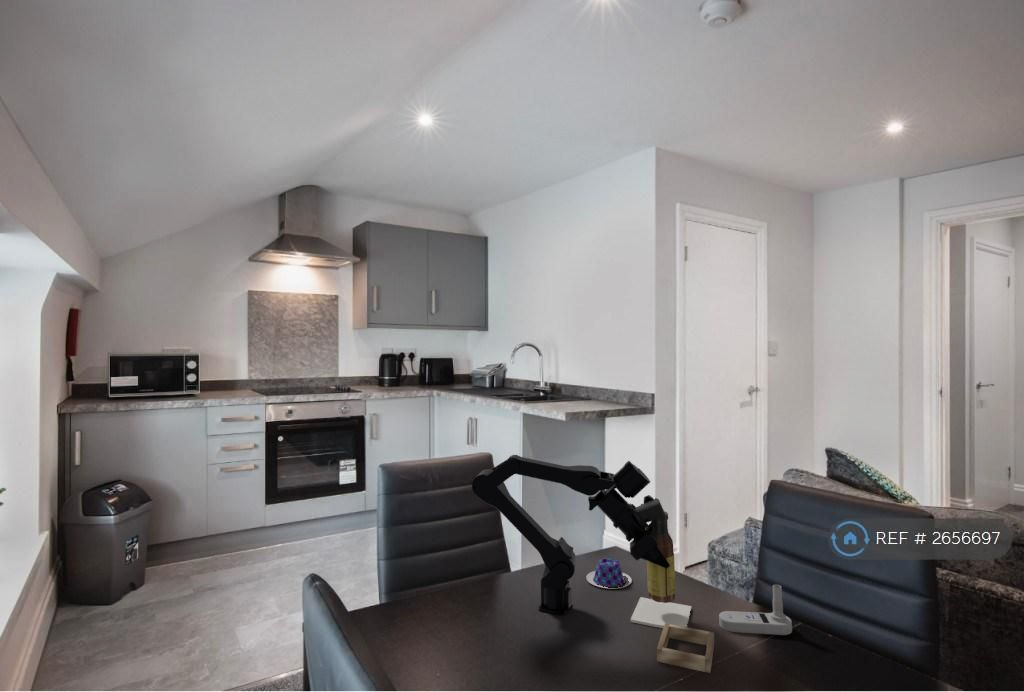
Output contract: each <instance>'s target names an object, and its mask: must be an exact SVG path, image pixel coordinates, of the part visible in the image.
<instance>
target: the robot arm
mask: <svg viewBox="0 0 1024 692" xmlns="http://www.w3.org/2000/svg"><path fill="white" fill-rule="evenodd" d="M514 475H519V476H523V477H529V478H531V479H538V480H541V481H546V482H552V483H556V484H561V485H563V486H565V487H567V488H569V489H571V490H573V491H575V492H578V493H579V494H583V495H585V496H588V497H587V498H588V504H589V505H588V510H589V512H591V511H593V510H594V509H595V508H596V507H598V508H599V509H600V511H601V512H602V513H604V515H605V516H606V517H607V518H608V519H609V520H610V521H611V522H612V523H613V524H612V526H613V527H614V528H615V529H618V530H620V532H621V533H622V534H623V535H624V536H625V539H626V541H627V542H629V554H630V555H631V556H632V557H633V558H634V560H635V561H639V560H640V559H642V560H646V562H647V561H650V562H652V563H655V564H657V565H659V566H662V567H664V568H668V567H669V566H670V564H669V563H668V561H667V560H666V558H665V557H664V555H663V554H662V553H661V551H660V550H659V548H658V547H657V543H658V540H657V536H656V537H655V536H654V534H653V533H652V532H651V521H653V520H655V519H658V518H663V517H664V516H665V512H666V511H665V509H664V508H663V506H662V503H661V501H660V500H659V498H657V497H655V498H654V497H653V496H651V495H649V494H648V495H645V496H644V497H643V503H640V505H639V506H635V505H634V504H633V503H631V502H630V503H629V502H628V501H627V500H626V499H627V498H628V499H629V498H631V499H634V498H635V497H636V496H637V495H638V494H639V493H640V492H641V491H642V490H643V489H645V488H646V487H647V486H648V485H649V484H650V483H651V480H650V479H649V478H648V476H647V475H646V474H645V473H644V472H643V471H642V470H641V468H638V466H637V465H636V464H634V463H632V462H631V461H630V460H628V461H626V463H625V464H624V465H623V466H622V467H621V468H620V469H619V470H618V471H617V472H616V473H611V472H606V471H601V470H599V468H597V467H595V466H593V465H583V464H582V465H581V464H580V465H561V464H558V463H553V462H548V461H541V460H538V459H535V458H534V459H532V458H528V457H524V456H523V457H522V456H520V455H518V454H512V455H510V456H509V457H508V458H507V459H506V460H505V459H504V461H502V462H501V463H499V464H497V465H495V466H494V467H493V468H486V469H483V470H482V471H480V472H479V473H478V474H477V475H476V476H475V477H474V479H473V480H472V483H471V490H472V493H473V494H474V495H475V497H477V498H478V499H479V500H481V501H483V503H485V504H486V505H489V506H491V507H493V508H495V509H496V510H498V511H499V512H500V513H501V514H502V515H503V516H504V517H505V518H506V519H507V520H508V521H509V522H510V523H511V525H512V526H513V527H514V528H515V529H516V530H517V531H518V532H519V533H520V534H521V535H522V536H523V537H524V538H525V539H526V540H527V541H528V542H529V544H531V545H532V547H534V548H535V550H537V552H538V554H540V557H541V558H542V561H543V563H544V568H543V572H542V575H541V578H540V604H539V606H538V611H543V612H546V613H551V614H557V615H562V616H564V615H565V614H567V611H568V610H569V609H570V608H571V606H572V605H573V604H572V600H573V599H572V598H573V597H572V596H573V595H572V593H573V592H572V587H570V579H572V577H573V576H574V575H575V571H576V565H577V556H576V554H575V552H574V547H573V546H571V545H570V544H568V542H567V541H566V539H565V538H564V537H563V536H560V537H559V539H558V540H557V539H555V538H553V537H551V536H550V535H549V534H548V532H546V530H545V529H544V528H542V527H541V525H540V524H539V523H538V522H537V521H536V520H535V519H534V518H533V517H532V516H531V515H530V514H529V513H528V512H527V510H525V509H524V507H522V505H520V503H518V501H517V500H515V499H514V498H513V496H512V495H511V494H510V492H509V490H508V487H507V486H506V483H504V482H506V481H507V480H508V479H510V478H511V477H512V476H514ZM617 490H618V491H617ZM625 498H626V499H625ZM664 511H665V512H664ZM648 523H649V524H648Z"/></svg>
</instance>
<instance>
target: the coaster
mask: <svg viewBox="0 0 1024 692" xmlns="http://www.w3.org/2000/svg"><path fill="white" fill-rule="evenodd" d="M690 611H691V612H692V605H687V604H682V603H675V602H668V603H663V602H656V601H654V600H652V599H651V598H647V597H642V596H640V598H639V599H638V602H637V604H636V606H635V609H634V610H633V613H632V615H631V617H630V623H633V624H634V623H635V624H639V625H644V626H649V627H653V628H659V629H663V628H664V625H665V623H667V624H672V625H678V626H683V627H688V625H689V620H690V617H689V616H691V613H690ZM687 624H688V625H687Z"/></svg>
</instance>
